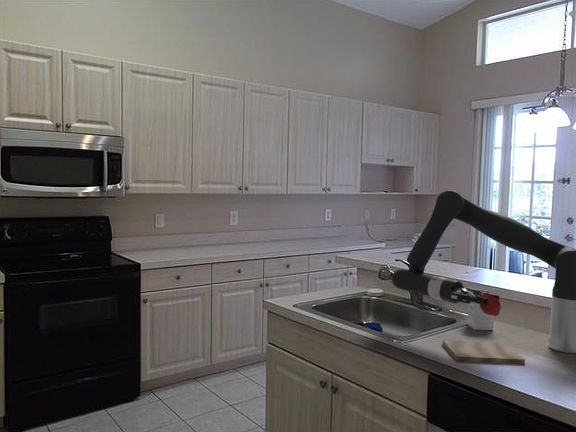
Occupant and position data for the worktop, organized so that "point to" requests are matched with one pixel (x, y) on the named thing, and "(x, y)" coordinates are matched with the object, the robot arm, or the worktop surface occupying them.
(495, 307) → the onion
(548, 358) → the worktop surface
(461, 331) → the worktop surface
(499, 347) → the cutting board
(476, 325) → the supplement box
